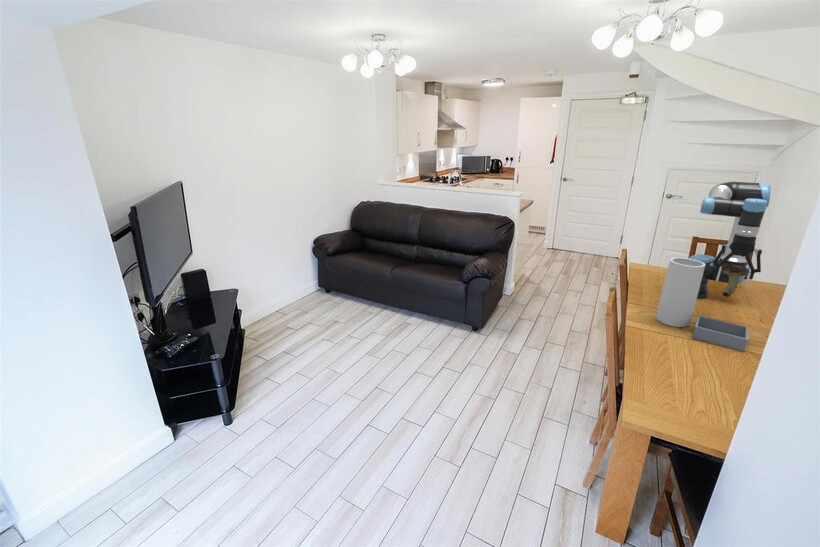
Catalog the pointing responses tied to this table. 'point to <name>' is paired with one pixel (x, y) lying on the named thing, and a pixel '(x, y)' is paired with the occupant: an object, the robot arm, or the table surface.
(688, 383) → the table surface
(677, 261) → the vase
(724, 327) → the bin
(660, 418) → the table surface
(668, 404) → the table surface
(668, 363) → the table surface
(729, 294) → the mushroom
